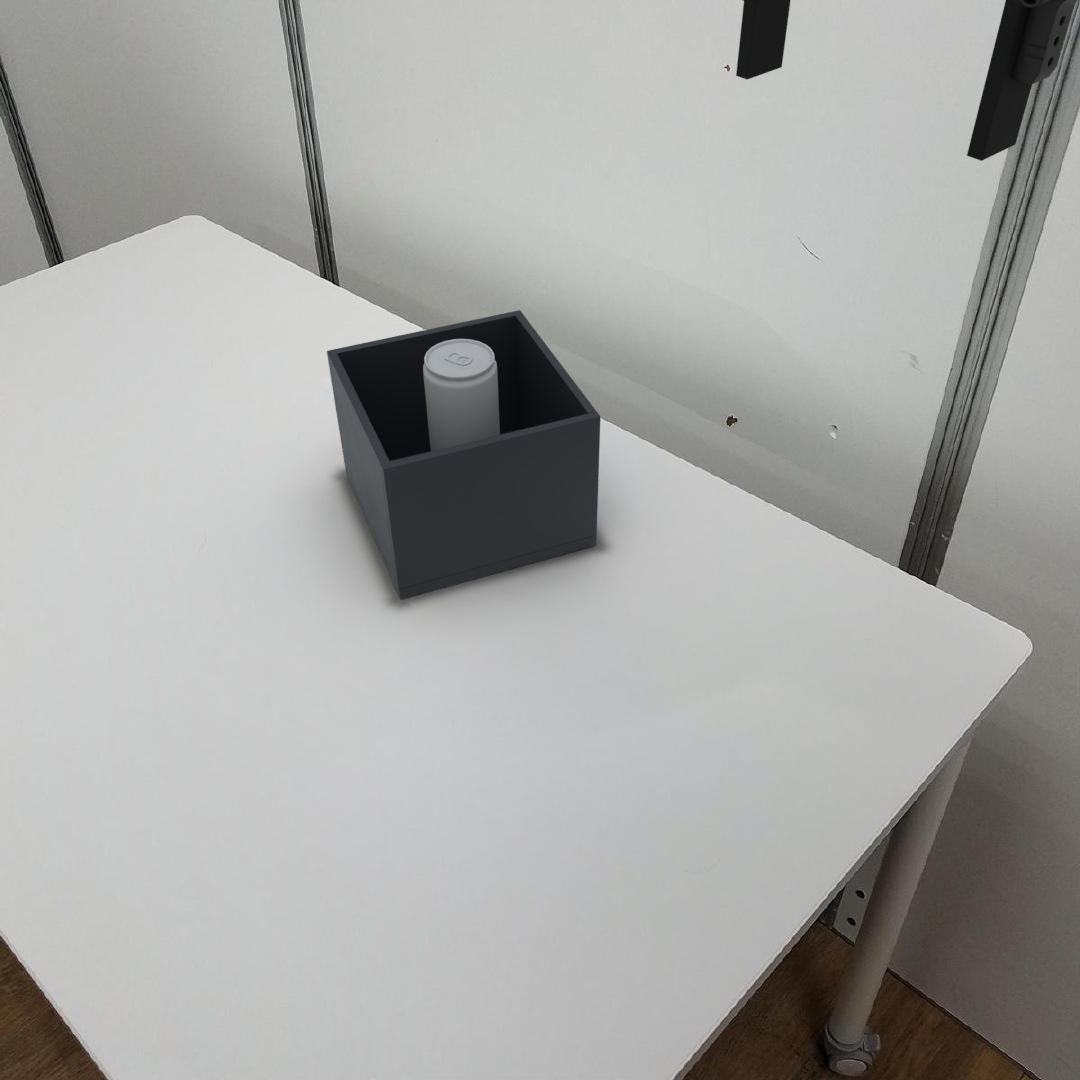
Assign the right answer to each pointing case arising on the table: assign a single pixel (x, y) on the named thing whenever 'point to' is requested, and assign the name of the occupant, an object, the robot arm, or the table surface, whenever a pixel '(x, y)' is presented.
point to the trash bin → (467, 458)
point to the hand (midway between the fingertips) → (866, 109)
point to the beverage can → (461, 393)
